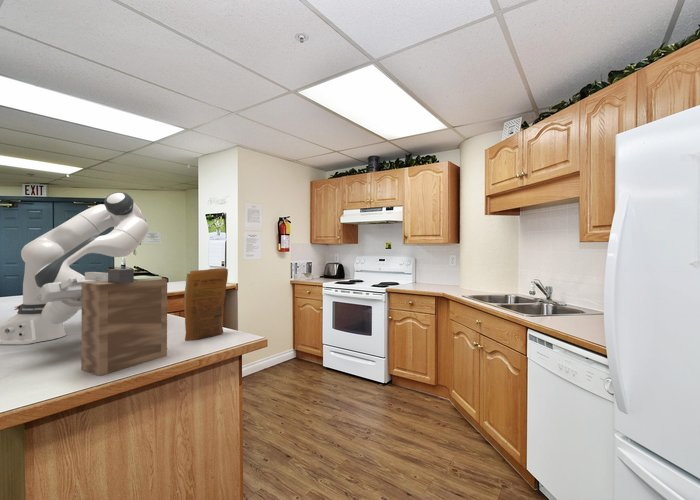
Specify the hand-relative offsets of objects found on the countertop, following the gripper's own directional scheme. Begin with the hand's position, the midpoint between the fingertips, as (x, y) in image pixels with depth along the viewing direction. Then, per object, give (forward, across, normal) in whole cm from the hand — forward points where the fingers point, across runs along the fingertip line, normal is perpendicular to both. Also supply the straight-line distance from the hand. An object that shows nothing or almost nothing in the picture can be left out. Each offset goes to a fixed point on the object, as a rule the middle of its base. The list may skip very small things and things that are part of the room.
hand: (91, 278), depth 104 cm
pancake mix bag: (-5, +36, +28) cm, 46 cm away
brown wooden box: (-2, +4, +29) cm, 29 cm away
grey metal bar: (+7, 0, +4) cm, 8 cm away
